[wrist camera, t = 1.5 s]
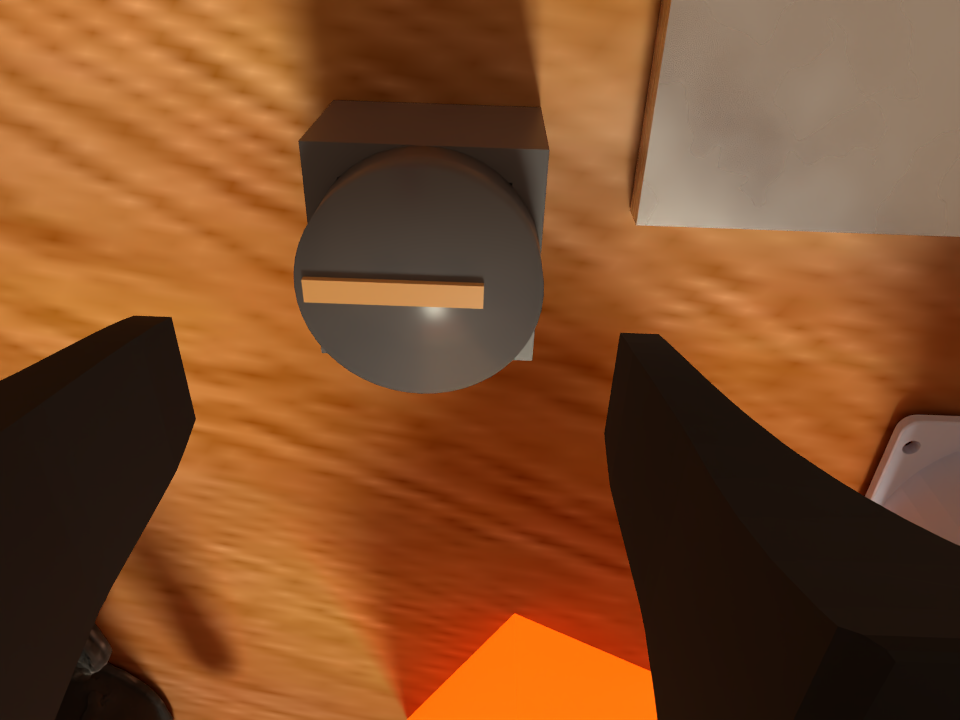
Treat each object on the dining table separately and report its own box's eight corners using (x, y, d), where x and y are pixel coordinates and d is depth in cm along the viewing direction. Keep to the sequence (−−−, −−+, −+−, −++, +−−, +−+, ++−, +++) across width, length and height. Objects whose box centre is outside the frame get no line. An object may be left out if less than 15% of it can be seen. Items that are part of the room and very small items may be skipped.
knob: (540, 107, 17) (554, 176, 13) (527, 292, 20) (535, 401, 15) (333, 100, 17) (276, 167, 13) (348, 286, 20) (305, 393, 15)
